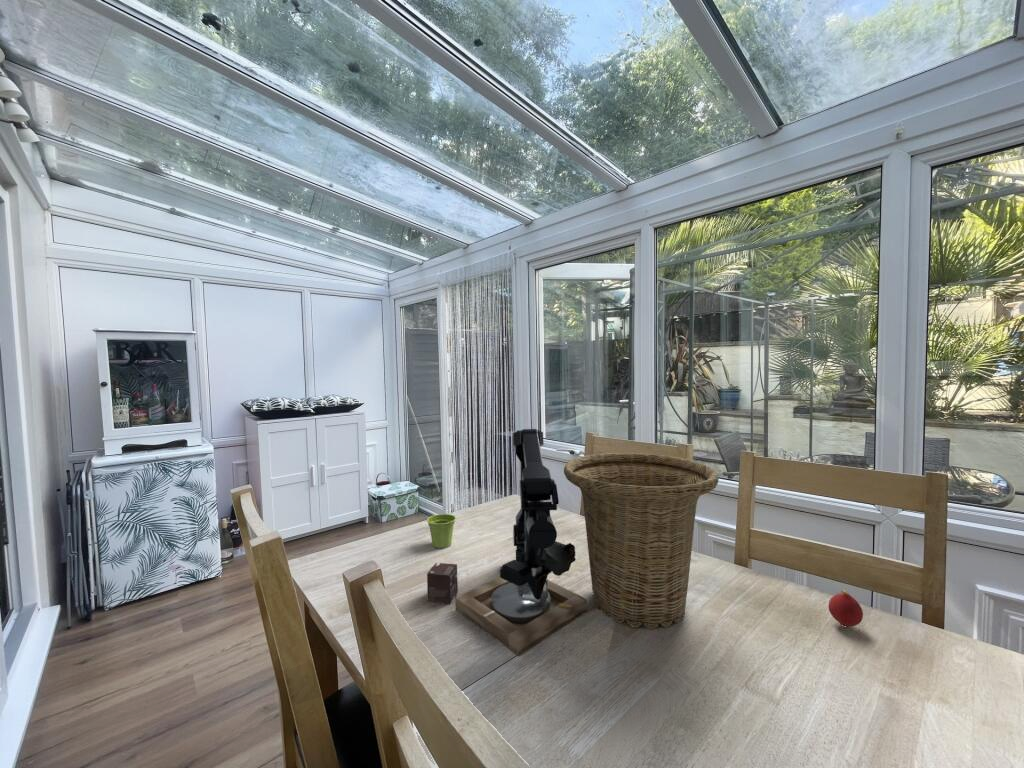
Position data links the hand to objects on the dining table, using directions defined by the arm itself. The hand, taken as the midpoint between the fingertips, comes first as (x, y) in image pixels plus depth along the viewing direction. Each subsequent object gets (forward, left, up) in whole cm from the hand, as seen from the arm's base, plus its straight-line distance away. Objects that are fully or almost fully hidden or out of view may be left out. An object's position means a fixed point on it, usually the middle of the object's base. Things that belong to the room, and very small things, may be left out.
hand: (537, 598), depth 94 cm
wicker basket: (-23, +11, -5) cm, 26 cm away
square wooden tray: (0, -6, -5) cm, 8 cm away
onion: (-47, +47, -5) cm, 67 cm away
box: (+10, -24, -5) cm, 26 cm away
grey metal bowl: (0, -6, -4) cm, 7 cm away
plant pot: (-7, -51, -5) cm, 51 cm away
